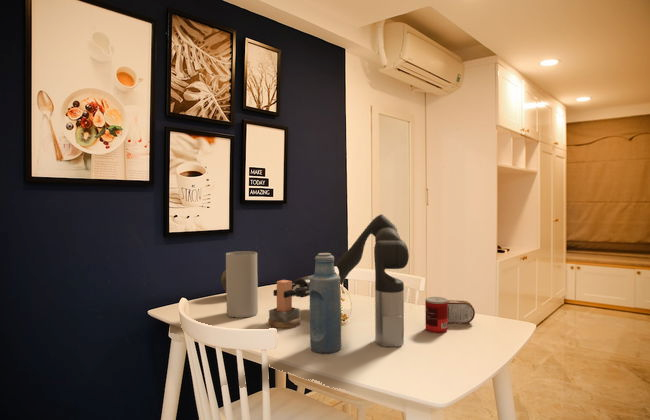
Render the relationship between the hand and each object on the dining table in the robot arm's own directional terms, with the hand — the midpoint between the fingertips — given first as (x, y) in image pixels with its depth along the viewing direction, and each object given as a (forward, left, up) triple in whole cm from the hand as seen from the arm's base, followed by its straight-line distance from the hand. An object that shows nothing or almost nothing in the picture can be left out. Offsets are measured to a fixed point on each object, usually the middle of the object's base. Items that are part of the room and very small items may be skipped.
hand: (279, 294), depth 156 cm
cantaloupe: (+48, +25, -12) cm, 55 cm away
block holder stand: (+2, -2, -12) cm, 12 cm away
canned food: (-7, -56, -12) cm, 58 cm away
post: (+2, -2, -10) cm, 10 cm away
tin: (+1, -65, -12) cm, 67 cm away
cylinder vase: (+17, +17, -12) cm, 26 cm away
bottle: (-24, -16, -12) cm, 32 cm away
